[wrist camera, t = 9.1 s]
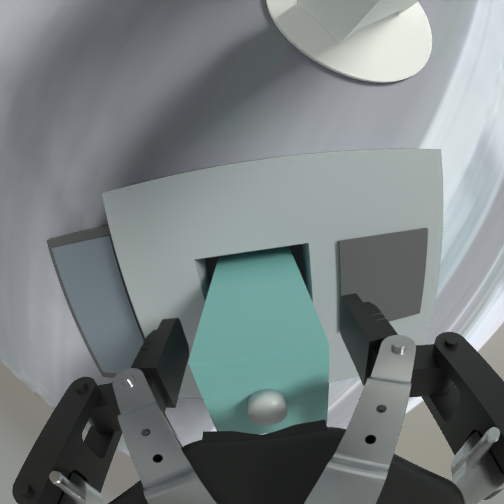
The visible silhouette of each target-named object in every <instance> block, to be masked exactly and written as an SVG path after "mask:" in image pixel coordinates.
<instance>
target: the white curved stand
mask: <svg viewBox="0 0 504 504" xmlns="http://www.w3.org/2000/svg"><path fill="white" fill-rule="evenodd" d="M418 1H420V0H266V4H267V8H268V11H269V13H270V16H271V18H272V20H273V21H274V23H275V25H276V26H277V28H278V29H279V30H280V32H281V33H282V34H283V35H284V36H285V37H286V39H287V40H288V41H289V42H290V43H291V44H293V45H294V46H295V47H296V48H297V49H298V50H300V51H301V52H302V53H303V54H305V55H306V56H308V57H309V58H310V59H312V60H314V61H315V62H317V63H319V64H320V65H322V66H324V67H326V68H328V69H330V70H332V71H334V72H336V73H339V74H342V75H344V76H347V77H350V78H353V79H357V80H362V81H367V82H374V83H390V82H396V81H400V80H403V79H406V78H408V77H410V76H413V75H414V74H416V73H417V72H418V71H420V70H421V69H422V68H423V67H424V65H425V64H426V62H427V61H428V59H429V56H430V53H431V48H432V34H431V29H430V25H429V22H428V19H427V17H426V15H425V13H424V11H423V9H422V7H421V6H420V4H419V2H418Z"/></svg>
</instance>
